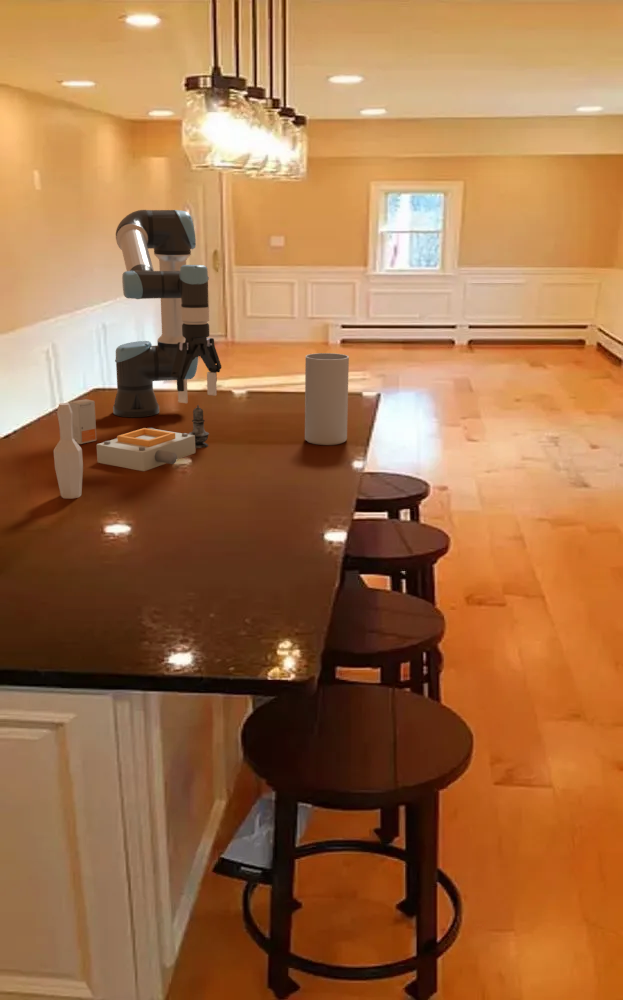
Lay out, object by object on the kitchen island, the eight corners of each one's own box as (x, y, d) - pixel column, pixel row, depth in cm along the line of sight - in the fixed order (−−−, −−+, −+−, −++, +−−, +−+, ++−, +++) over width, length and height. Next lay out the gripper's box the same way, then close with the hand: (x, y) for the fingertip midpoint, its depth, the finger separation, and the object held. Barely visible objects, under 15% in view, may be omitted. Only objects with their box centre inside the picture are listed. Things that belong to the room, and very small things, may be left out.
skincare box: (81, 444, 252) (78, 403, 249) (71, 442, 255) (68, 401, 251) (97, 440, 257) (95, 400, 253) (88, 438, 259) (85, 398, 256)
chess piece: (205, 448, 250) (204, 407, 246) (186, 447, 251) (184, 406, 247) (211, 443, 255) (210, 403, 251) (192, 442, 256) (191, 402, 252)
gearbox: (150, 445, 253) (149, 423, 251) (210, 455, 243) (209, 432, 241) (97, 462, 235) (96, 438, 233) (159, 474, 225) (158, 449, 223)
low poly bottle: (57, 500, 203) (49, 407, 196) (57, 492, 209) (49, 401, 202) (85, 498, 205) (78, 406, 198) (84, 490, 211) (78, 400, 204)
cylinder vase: (300, 444, 256) (300, 358, 248) (310, 434, 268) (311, 352, 260) (342, 447, 253) (344, 360, 245) (350, 437, 265) (352, 354, 257)
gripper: (211, 318, 254) (213, 390, 260) (155, 325, 233) (159, 404, 240) (232, 319, 251) (233, 393, 257) (178, 327, 230) (181, 407, 236)
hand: (197, 398), depth 248 cm, fingers open, 13 cm apart
